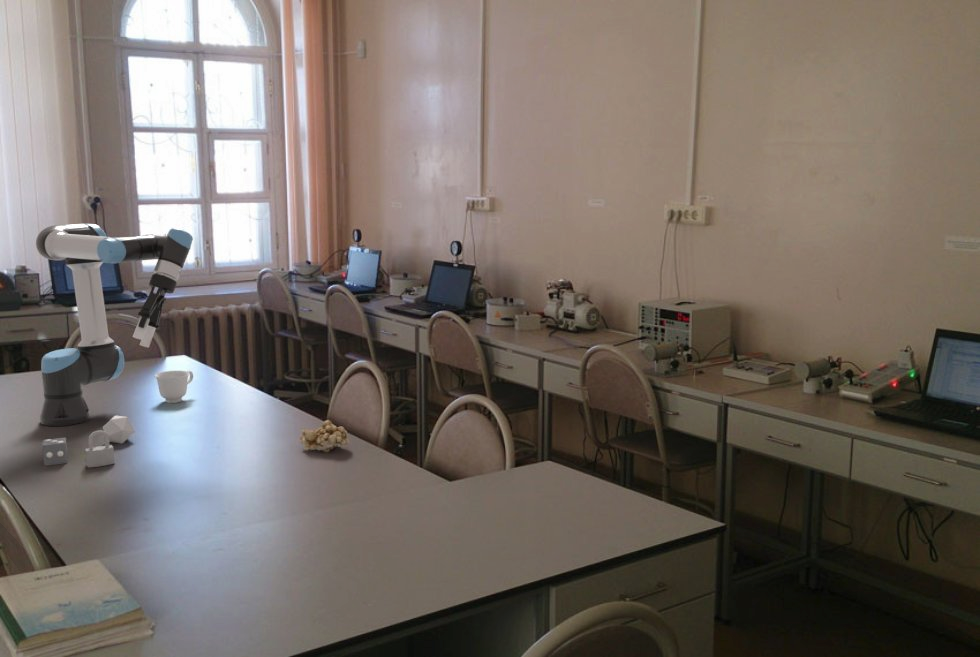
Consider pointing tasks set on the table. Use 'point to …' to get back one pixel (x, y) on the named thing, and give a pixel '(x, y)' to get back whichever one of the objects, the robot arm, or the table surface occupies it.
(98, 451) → the padlock
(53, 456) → the dotted block
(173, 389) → the teacup
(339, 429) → the mineral formation
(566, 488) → the table surface
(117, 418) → the die
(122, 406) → the table surface
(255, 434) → the table surface
